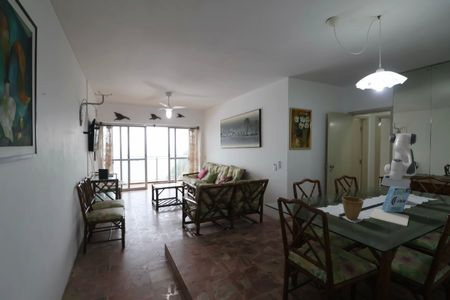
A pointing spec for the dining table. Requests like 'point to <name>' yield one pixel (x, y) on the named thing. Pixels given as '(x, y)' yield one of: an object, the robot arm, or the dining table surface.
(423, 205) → the dining table surface
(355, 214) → the plant pot
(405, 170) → the robot arm
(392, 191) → the gum box
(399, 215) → the white flat board
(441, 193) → the dining table surface
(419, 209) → the dining table surface
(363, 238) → the dining table surface
